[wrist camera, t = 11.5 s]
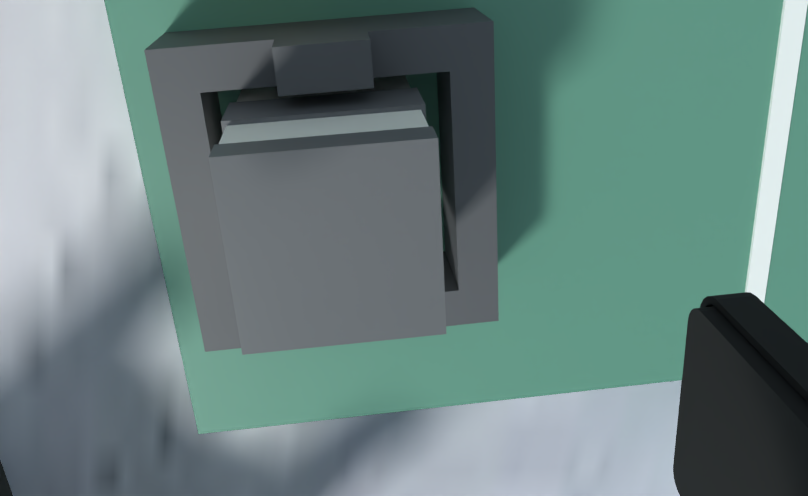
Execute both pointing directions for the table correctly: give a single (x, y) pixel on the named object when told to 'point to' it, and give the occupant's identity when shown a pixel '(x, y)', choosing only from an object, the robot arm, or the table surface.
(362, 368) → the board
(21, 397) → the table surface
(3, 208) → the table surface
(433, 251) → the plug
